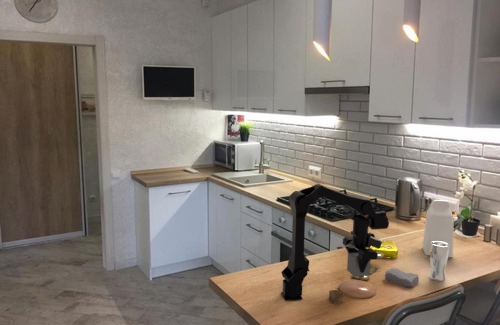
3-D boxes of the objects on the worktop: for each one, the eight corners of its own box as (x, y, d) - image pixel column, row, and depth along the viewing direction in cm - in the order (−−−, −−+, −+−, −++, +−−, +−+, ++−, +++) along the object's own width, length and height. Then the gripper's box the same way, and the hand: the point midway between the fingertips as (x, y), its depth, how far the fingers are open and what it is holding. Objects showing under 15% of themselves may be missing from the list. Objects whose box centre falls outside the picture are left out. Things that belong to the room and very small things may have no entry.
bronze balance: (366, 282, 177) (367, 253, 175) (349, 278, 181) (351, 249, 179) (385, 264, 197) (387, 237, 195) (370, 260, 201) (371, 234, 199)
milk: (425, 255, 209) (429, 202, 205) (422, 247, 220) (426, 196, 216) (452, 257, 206) (457, 204, 202) (447, 249, 217) (452, 198, 213)
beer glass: (424, 276, 184) (427, 242, 182) (437, 274, 186) (440, 240, 184) (436, 282, 178) (439, 247, 175) (449, 280, 180) (452, 245, 178)
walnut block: (332, 303, 159) (332, 294, 158) (329, 299, 162) (329, 290, 162) (341, 302, 159) (341, 293, 159) (338, 298, 163) (338, 289, 162)
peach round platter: (347, 299, 162) (348, 296, 162) (333, 283, 175) (333, 281, 175) (382, 296, 164) (382, 293, 164) (365, 281, 178) (366, 278, 178)
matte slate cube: (354, 276, 165) (354, 258, 164) (347, 270, 171) (347, 253, 170) (369, 275, 166) (370, 257, 165) (362, 269, 172) (363, 252, 171)
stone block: (393, 277, 187) (382, 279, 180) (395, 266, 187) (384, 268, 180) (420, 287, 179) (410, 290, 171) (422, 276, 179) (412, 278, 171)
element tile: (392, 248, 218) (393, 239, 218) (398, 259, 204) (398, 249, 203) (361, 246, 220) (362, 237, 220) (365, 257, 206) (365, 247, 205)
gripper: (392, 236, 159) (389, 277, 161) (368, 222, 177) (366, 259, 179) (363, 238, 157) (361, 279, 159) (343, 223, 175) (341, 260, 177)
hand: (358, 269), depth 169 cm, fingers closed on matte slate cube, 6 cm apart
